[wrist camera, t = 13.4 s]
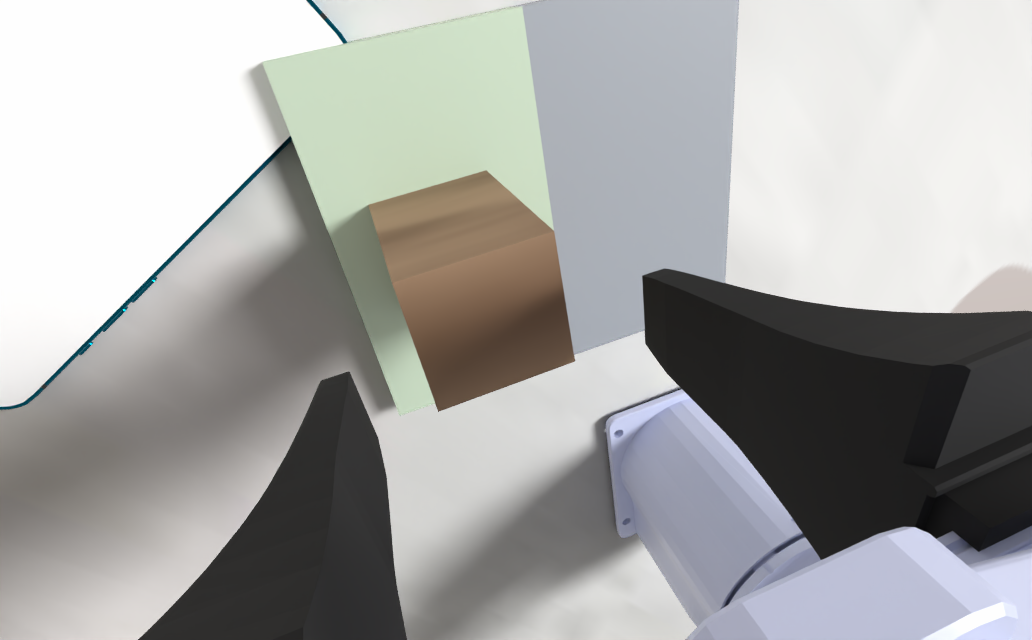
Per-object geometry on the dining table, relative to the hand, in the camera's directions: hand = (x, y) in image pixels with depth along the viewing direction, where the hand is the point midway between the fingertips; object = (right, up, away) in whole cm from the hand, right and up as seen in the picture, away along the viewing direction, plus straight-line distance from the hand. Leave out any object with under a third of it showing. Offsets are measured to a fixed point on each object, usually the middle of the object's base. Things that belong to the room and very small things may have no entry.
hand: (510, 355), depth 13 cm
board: (+1, +5, +7) cm, 9 cm away
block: (-2, +4, +6) cm, 7 cm away
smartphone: (-13, +6, +3) cm, 14 cm away
